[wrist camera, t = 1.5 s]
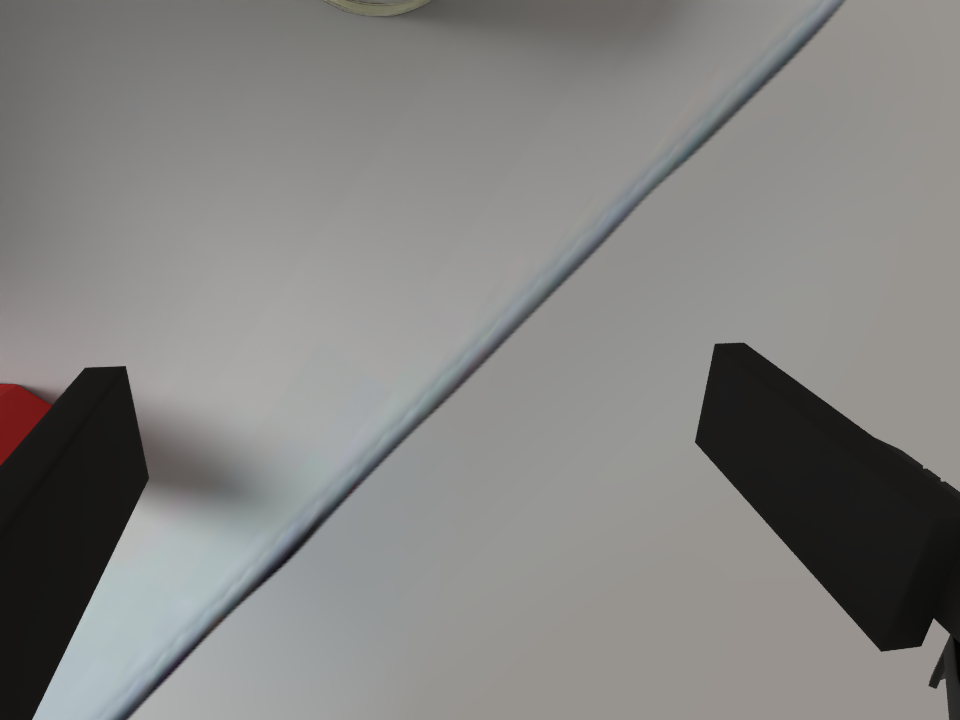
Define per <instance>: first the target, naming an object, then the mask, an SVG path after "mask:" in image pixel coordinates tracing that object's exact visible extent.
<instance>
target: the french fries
mask: <svg viewBox="0 0 960 720" xmlns="http://www.w3.org/2000/svg"><path fill="white" fill-rule="evenodd" d="M51 407H52V405H50V404H49V403H47V402H45V401H44V400H42V399H40V398H39V397H37V396H36V395H34V394H32V393H30V392H29V391H27V390H25V389H23V388H22V387H20V386H18V385H15V384H0V466H1V465H2V463H3V462H4V461H5V460H6V459H7V458H8V457H9V455H10V454H11V453H12V452H13V451H14V450H15V448H16V447H17V446H18V445H19V444H20V443H21V441H22V440H23V439H24V438H25V437H26V436H27V434H28V433H29V432H30V431H31V430H32V429H33V428H34V426H35V425H36V424H37V423H38V422H39V421H40V419H41V418H42V417H43V416H44V415H45V414H46V412H47V411H48V410H49V409H50V408H51Z"/></svg>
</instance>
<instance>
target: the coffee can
mask: <svg viewBox="0 0 960 720" xmlns="http://www.w3.org/2000/svg"><path fill="white" fill-rule="evenodd" d="M324 1H325V2H327V3H329V4H331V5H333V6H335V7H337V8H339V9H341V10H344V11H347V12H350V13H354V14H359V15H365V16H392V15H397V14H402V13H405V12H409V11H411V10H414V9H416V8H418V7H420V6H422V5H425V4H427V3H429V2H430V1H431V0H324Z"/></svg>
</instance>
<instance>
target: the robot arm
mask: <svg viewBox="0 0 960 720" xmlns="http://www.w3.org/2000/svg"><path fill="white" fill-rule="evenodd" d="M695 443H696V444H697V445H698V446H699V447H700V448H701V449H702V451H703V452H704V453H705V454H706V455H707V456H708V457H709V458H710V460H711V461H712V462H713V463H714V464H715V465H716V466H717V467H718V469H719V470H720V471H721V472H722V473H723V474H724V475H725V476H726V478H727V479H728V480H729V481H730V482H731V483H732V484H733V485H734V487H735V488H736V489H737V490H738V491H739V492H740V493H741V494H742V496H743V497H744V498H745V499H746V500H747V501H748V502H749V503H750V505H751V506H752V507H753V508H754V509H755V510H756V511H757V512H758V514H760V516H761V517H762V518H763V519H764V520H765V521H766V523H767V524H768V525H769V526H770V527H771V528H772V529H773V530H774V532H775V533H776V534H777V535H778V536H779V537H780V538H781V539H782V540H783V542H784V543H785V544H786V545H787V546H788V547H789V548H790V550H791V551H792V552H793V553H794V554H795V555H796V556H797V557H798V558H799V560H800V561H801V562H802V563H803V564H804V565H805V566H806V567H807V569H808V570H809V571H810V572H811V573H812V574H813V575H814V576H815V578H816V579H817V580H818V581H819V582H820V583H821V584H822V585H823V587H824V588H825V589H826V590H827V591H828V592H829V593H830V594H831V596H832V597H833V598H834V599H835V600H836V601H837V602H838V603H839V605H840V606H841V607H842V608H843V609H844V610H845V611H846V612H847V614H848V615H849V616H850V617H851V618H852V619H853V620H854V621H855V622H856V624H857V625H858V626H859V627H860V628H861V629H862V630H863V632H864V633H865V634H866V635H867V636H868V637H869V638H870V639H871V641H872V642H873V643H874V644H875V645H876V646H877V647H878V648H879V650H880V651H881V652H882V651H890V650H898V649H905V648H913V647H920V646H922V643H923V641H924V639H925V636H926V634H927V632H928V629H929V627H930V625H931V623H932V620H933V618H934V619H935V620H936V621H937V622H938V623H939V624H940V625H942V626H943V627H944V628H945V629H946V630H947V631H948V632H949V633H950V637H949V639H948V641H947V643H946V645H945V647H944V650H943V652H942V654H941V657H940V658H939V661H938V663H937V665H936V667H935V669H934V672H933V674H932V676H931V679H930V683H929V686H930V687H933V688H937V686H938V684H939V682H940V680H942V679H945V678H946V688H947V699H948V711H949V720H960V492H959V491H958V490H956V489H955V488H953V487H952V486H951V485H949V484H948V483H947V482H941V480H940V479H941V478H940V477H938V476H937V475H935V474H934V473H932V472H931V471H930V470H928V469H923V465H921V464H920V463H918V462H917V461H916V460H914V459H913V458H912V457H910V456H909V455H907V454H906V453H905V452H903V451H902V450H900V449H898V448H896V447H894V446H891V445H889V444H887V443H885V442H883V441H881V440H878V439H876V438H874V437H873V436H871V435H870V434H868V433H867V432H866V431H865V430H863V429H862V428H860V427H859V426H858V425H856V424H855V423H853V422H852V421H851V420H849V419H848V418H847V417H845V416H844V415H843V414H841V413H840V412H838V411H837V410H836V409H834V408H833V407H832V406H830V405H829V404H827V403H826V402H825V401H823V400H822V399H821V398H819V397H818V396H816V395H815V394H814V393H812V392H811V391H809V390H808V389H807V388H805V387H804V386H803V385H801V384H800V383H799V382H797V381H796V380H795V379H793V378H792V377H790V376H789V375H788V374H786V373H785V372H783V371H782V370H781V369H779V368H778V367H777V366H775V365H774V364H773V363H771V362H770V361H768V360H767V359H766V358H764V357H763V356H762V355H760V354H759V353H757V352H756V351H755V350H753V349H752V348H751V347H749V346H748V345H746V344H745V343H725V344H715V346H714V351H713V356H712V361H711V366H710V371H709V376H708V381H707V385H706V390H705V395H704V400H703V405H702V410H701V415H700V420H699V425H698V430H697V435H696V440H695ZM148 479H149V476H148V471H147V466H146V461H145V457H144V452H143V447H142V442H141V437H140V432H139V428H138V423H137V418H136V413H135V408H134V404H133V399H132V394H131V389H130V384H129V379H128V375H127V370H126V366H118V367H92V368H84V370H83V371H82V372H81V373H80V374H79V375H78V377H77V378H76V379H75V380H74V381H73V382H72V384H71V385H70V386H69V387H68V388H67V389H66V390H65V392H64V393H63V394H62V395H61V396H60V397H59V399H58V400H57V401H56V402H55V403H54V404H53V406H52V407H51V408H50V409H49V410H48V411H47V412H46V414H45V415H44V416H43V417H42V418H41V419H40V421H39V422H38V423H37V424H36V425H35V426H34V428H33V429H32V430H31V431H30V432H29V433H28V434H27V436H26V437H25V438H24V439H23V440H22V441H21V443H20V444H19V445H18V446H17V447H16V448H15V450H14V451H13V452H12V453H11V454H10V455H9V457H8V458H7V459H6V460H5V461H4V462H3V463H2V465H1V466H0V720H32V719H33V717H34V715H35V713H36V710H37V708H38V706H39V704H40V702H41V700H42V698H43V696H44V694H45V692H46V690H47V688H48V686H49V684H50V682H51V680H52V677H53V675H54V673H55V671H56V669H57V667H58V665H59V663H60V661H61V659H62V657H63V655H64V653H65V651H66V649H67V646H68V644H69V642H70V640H71V638H72V636H73V634H74V632H75V630H76V628H77V626H78V624H79V622H80V620H81V618H82V616H83V613H84V611H85V609H86V607H87V605H88V603H89V601H90V599H91V597H92V595H93V593H94V591H95V589H96V587H97V585H98V583H99V580H100V578H101V576H102V574H103V572H104V570H105V568H106V566H107V564H108V562H109V560H110V558H111V556H112V554H113V552H114V549H115V547H116V545H117V543H118V541H119V539H120V537H121V535H122V533H123V531H124V529H125V527H126V525H127V523H128V521H129V519H130V516H131V514H132V512H133V510H134V508H135V506H136V504H137V502H138V500H139V498H140V496H141V494H142V492H143V490H144V488H145V486H146V483H147V481H148Z"/></svg>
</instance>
